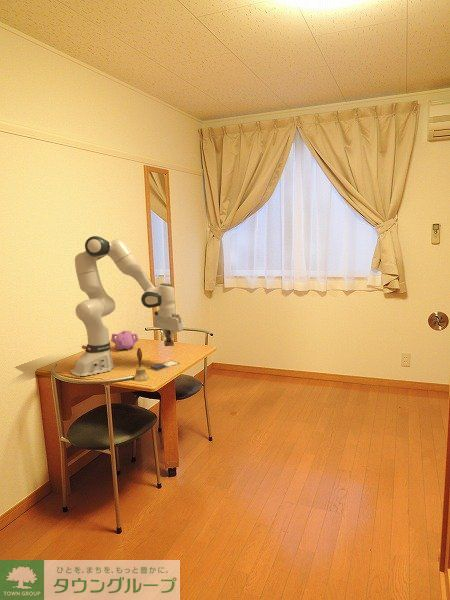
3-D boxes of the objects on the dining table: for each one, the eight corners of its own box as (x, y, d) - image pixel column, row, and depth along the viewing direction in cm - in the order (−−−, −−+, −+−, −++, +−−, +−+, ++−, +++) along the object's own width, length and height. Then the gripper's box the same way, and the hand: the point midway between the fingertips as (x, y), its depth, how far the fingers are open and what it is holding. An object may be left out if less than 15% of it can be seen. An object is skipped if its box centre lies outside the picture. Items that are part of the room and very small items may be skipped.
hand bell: (143, 382, 202) (142, 351, 200) (129, 380, 205) (127, 349, 203) (152, 376, 210) (151, 346, 207) (138, 374, 213) (137, 345, 210)
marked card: (168, 367, 223) (168, 366, 223) (159, 364, 229) (159, 364, 228) (180, 363, 230) (180, 363, 230) (171, 361, 235) (171, 360, 235)
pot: (116, 344, 272) (115, 327, 270) (142, 344, 271) (141, 327, 269) (107, 352, 254) (106, 334, 252) (135, 352, 253) (134, 334, 252)
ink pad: (156, 370, 219) (156, 368, 219) (150, 368, 223) (149, 366, 222) (165, 367, 223) (165, 365, 223) (159, 365, 227) (159, 363, 227)
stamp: (164, 346, 225) (164, 329, 223) (164, 344, 229) (163, 328, 227) (173, 345, 226) (173, 329, 224) (173, 343, 230) (172, 327, 228)
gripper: (185, 314, 220) (186, 338, 222) (160, 310, 233) (161, 333, 235) (176, 315, 215) (177, 341, 218) (151, 311, 229) (152, 335, 231)
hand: (168, 337), depth 227 cm, fingers closed on stamp, 3 cm apart
